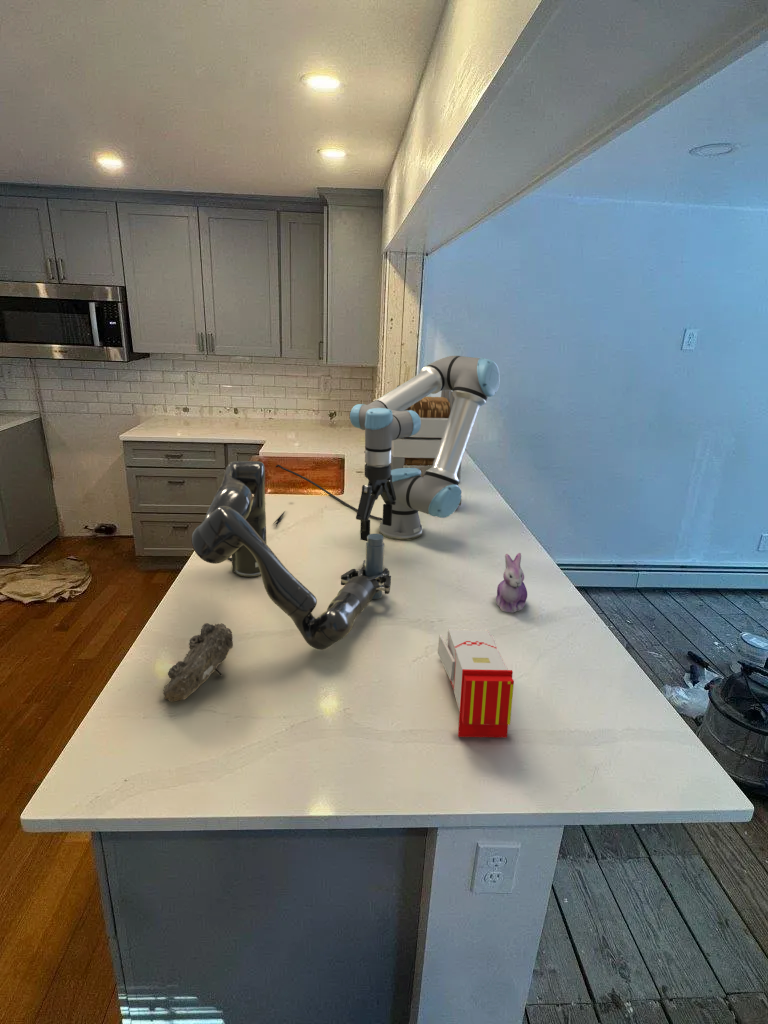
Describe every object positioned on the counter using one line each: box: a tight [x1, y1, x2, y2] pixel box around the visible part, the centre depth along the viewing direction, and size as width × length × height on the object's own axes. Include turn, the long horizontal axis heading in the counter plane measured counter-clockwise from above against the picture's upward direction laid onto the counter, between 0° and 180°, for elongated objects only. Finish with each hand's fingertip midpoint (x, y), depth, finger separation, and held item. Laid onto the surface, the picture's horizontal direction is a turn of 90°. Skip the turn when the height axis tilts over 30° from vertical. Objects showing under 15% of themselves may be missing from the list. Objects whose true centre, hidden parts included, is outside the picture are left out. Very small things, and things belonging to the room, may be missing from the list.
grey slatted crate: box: [390, 384, 463, 483], centre depth 268 cm, size 34×33×41 cm
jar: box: [364, 533, 385, 600], centre depth 154 cm, size 5×5×18 cm
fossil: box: [162, 622, 234, 703], centre depth 119 cm, size 22×10×15 cm
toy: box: [437, 628, 515, 738], centre depth 117 cm, size 12×13×30 cm
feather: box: [272, 510, 286, 528], centre depth 212 cm, size 2×28×2 cm
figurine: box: [495, 552, 528, 614], centre depth 152 cm, size 9×10×15 cm
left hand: (377, 569), depth 157 cm, fingers closed on jar, 5 cm apart
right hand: (376, 532), depth 169 cm, fingers open, 13 cm apart
